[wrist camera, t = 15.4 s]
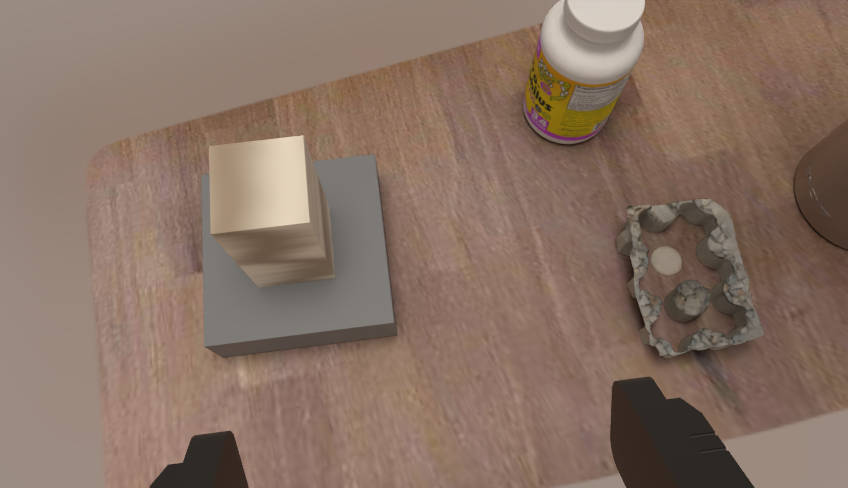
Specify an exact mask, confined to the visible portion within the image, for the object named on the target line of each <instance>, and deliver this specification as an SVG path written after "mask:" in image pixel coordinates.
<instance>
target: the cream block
mask: <svg viewBox="0 0 848 488" xmlns="http://www.w3.org/2000/svg"><path fill="white" fill-rule="evenodd" d="M209 176H210V227H211V235H212V236H213V237H214V239H215V240H216V241H217V242H218V243H219V244H220V245H221V246H222V247H223V249H224V250H225V251H226V252H227V253H228V254H229V255H230V256H231V258H232V259H233V260H234V261H235V262H236V263H237V264H238V265H239V266H240V268H241V269H242V270H243V271H244V272H245V273H246V274H247V275H248V276H249V278H250V279H251V280H252V281H253V282H254V283H255V284H256V285H257V287H258V288H261V287H269V286H278V285H286V284H294V283H302V282H310V281H318V280H327V279H335V278H336V276H335V265H334V253H333V241H332V229H331V218H330V207H329V205H328V202H327V199H326V196H325V194H324V191H323V188H322V185H321V183H320V180H319V177H318V174H317V172H316V169H315V166H314V163H313V161H312V158H311V155H310V152H309V150H308V147H307V144H306V142H305V139H304V136H295V137H286V138H277V139H268V140H260V141H251V142H242V143H233V144H225V145H216V146H209Z"/></svg>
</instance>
